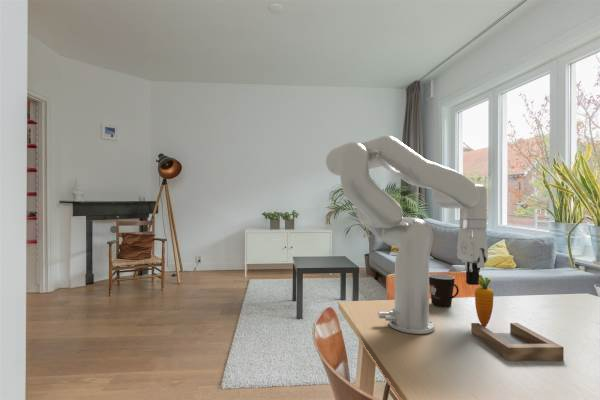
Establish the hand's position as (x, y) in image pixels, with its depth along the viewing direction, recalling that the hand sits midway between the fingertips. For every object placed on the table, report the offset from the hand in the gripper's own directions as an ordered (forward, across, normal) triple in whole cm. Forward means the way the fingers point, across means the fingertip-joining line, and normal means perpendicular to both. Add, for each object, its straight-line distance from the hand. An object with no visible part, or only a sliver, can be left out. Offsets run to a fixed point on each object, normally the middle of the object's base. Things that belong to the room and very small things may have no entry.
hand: (472, 284), depth 107 cm
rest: (+11, +19, 0) cm, 22 cm away
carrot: (+11, +6, 0) cm, 13 cm away
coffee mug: (+11, -14, -3) cm, 18 cm away
